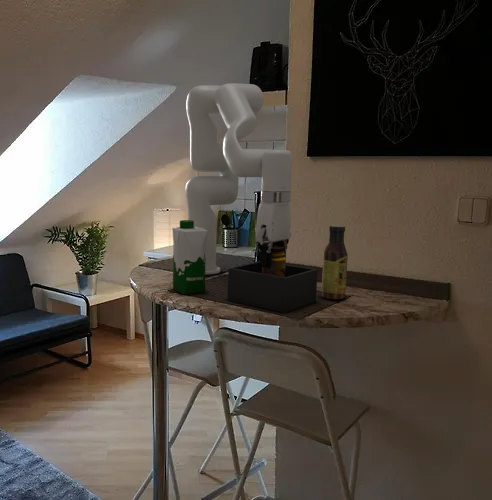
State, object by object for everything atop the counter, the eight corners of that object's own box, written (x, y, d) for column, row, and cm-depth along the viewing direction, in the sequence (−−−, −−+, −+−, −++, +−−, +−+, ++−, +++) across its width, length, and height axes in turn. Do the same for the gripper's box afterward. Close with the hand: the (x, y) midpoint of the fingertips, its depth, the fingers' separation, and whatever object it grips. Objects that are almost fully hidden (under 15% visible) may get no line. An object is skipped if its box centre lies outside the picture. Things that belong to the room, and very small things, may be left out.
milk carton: (195, 286, 173) (196, 219, 169) (210, 293, 164) (211, 222, 161) (168, 288, 169) (169, 220, 166) (182, 295, 161) (183, 224, 158)
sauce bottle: (341, 301, 155) (346, 228, 152) (318, 298, 158) (322, 226, 155) (347, 296, 160) (351, 225, 157) (324, 293, 164) (328, 223, 160)
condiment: (291, 292, 154) (293, 247, 152) (268, 296, 149) (270, 250, 147) (270, 287, 160) (272, 244, 158) (248, 291, 155) (250, 246, 153)
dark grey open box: (227, 300, 156) (228, 268, 155) (260, 290, 167) (261, 260, 166) (284, 313, 144) (286, 278, 143) (316, 301, 155) (317, 269, 154)
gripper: (280, 195, 160) (278, 259, 163) (244, 198, 148) (242, 268, 151) (305, 197, 155) (302, 263, 158) (269, 200, 143) (266, 272, 146)
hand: (272, 265), depth 154 cm, fingers closed on condiment, 6 cm apart
